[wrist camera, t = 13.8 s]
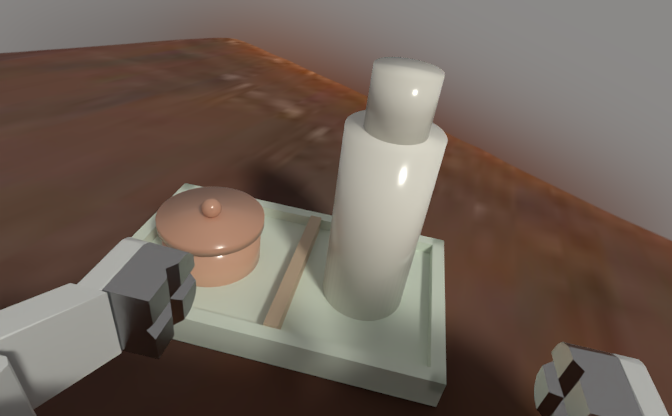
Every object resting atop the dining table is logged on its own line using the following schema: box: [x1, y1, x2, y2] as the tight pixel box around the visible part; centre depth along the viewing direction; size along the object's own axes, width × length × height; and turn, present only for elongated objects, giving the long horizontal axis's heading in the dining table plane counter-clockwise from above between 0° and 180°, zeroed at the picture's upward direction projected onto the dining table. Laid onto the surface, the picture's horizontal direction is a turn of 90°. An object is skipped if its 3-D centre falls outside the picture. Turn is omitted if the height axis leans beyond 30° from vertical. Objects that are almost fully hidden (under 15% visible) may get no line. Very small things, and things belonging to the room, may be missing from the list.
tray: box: [131, 183, 446, 407], centre depth 28 cm, size 20×12×2 cm, turn 79°
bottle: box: [323, 57, 447, 321], centre depth 23 cm, size 5×5×14 cm
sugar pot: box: [155, 187, 265, 287], centre depth 27 cm, size 6×6×6 cm
